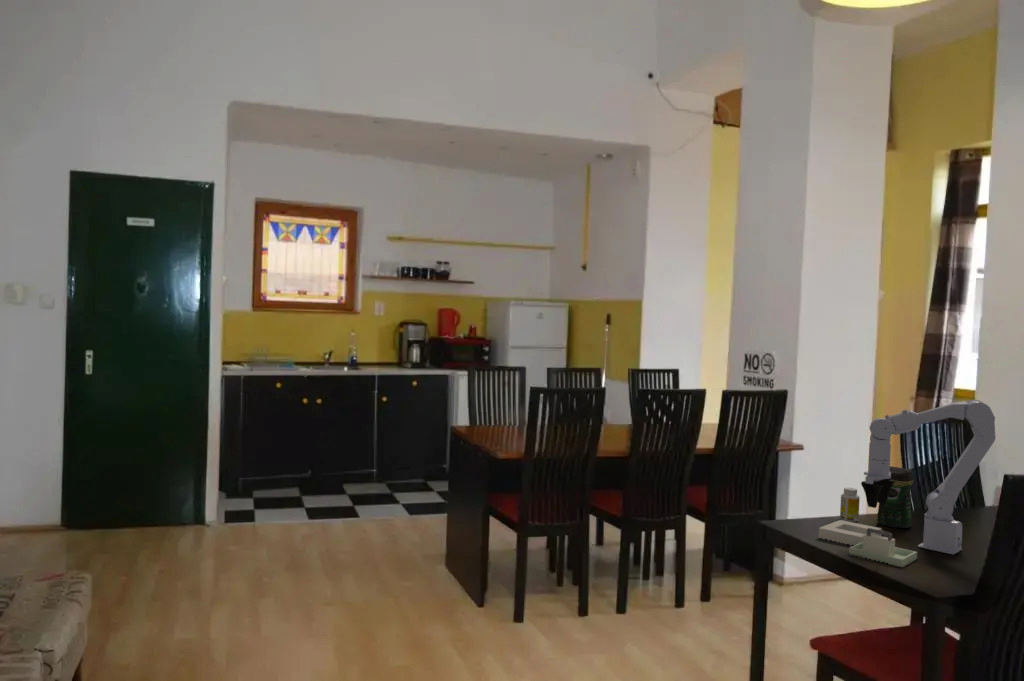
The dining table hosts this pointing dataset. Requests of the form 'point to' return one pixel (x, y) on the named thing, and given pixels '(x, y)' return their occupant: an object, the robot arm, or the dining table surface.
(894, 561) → the tray
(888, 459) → the robot arm
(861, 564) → the dining table surface
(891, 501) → the coffee jar
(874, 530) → the block with grey handle
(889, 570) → the dining table surface
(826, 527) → the bay
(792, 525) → the dining table surface
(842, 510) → the supplement bottle
